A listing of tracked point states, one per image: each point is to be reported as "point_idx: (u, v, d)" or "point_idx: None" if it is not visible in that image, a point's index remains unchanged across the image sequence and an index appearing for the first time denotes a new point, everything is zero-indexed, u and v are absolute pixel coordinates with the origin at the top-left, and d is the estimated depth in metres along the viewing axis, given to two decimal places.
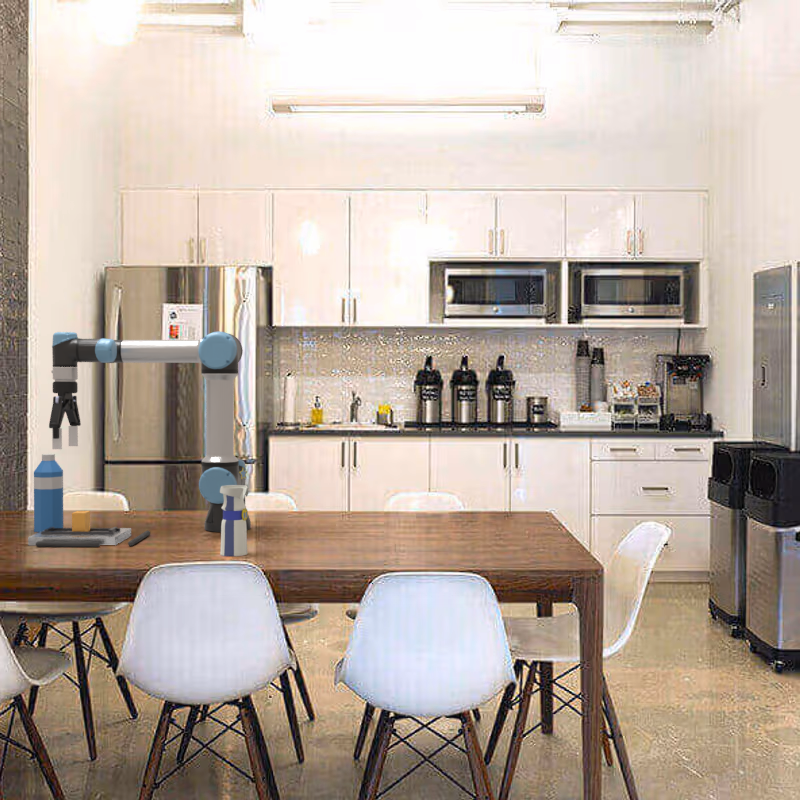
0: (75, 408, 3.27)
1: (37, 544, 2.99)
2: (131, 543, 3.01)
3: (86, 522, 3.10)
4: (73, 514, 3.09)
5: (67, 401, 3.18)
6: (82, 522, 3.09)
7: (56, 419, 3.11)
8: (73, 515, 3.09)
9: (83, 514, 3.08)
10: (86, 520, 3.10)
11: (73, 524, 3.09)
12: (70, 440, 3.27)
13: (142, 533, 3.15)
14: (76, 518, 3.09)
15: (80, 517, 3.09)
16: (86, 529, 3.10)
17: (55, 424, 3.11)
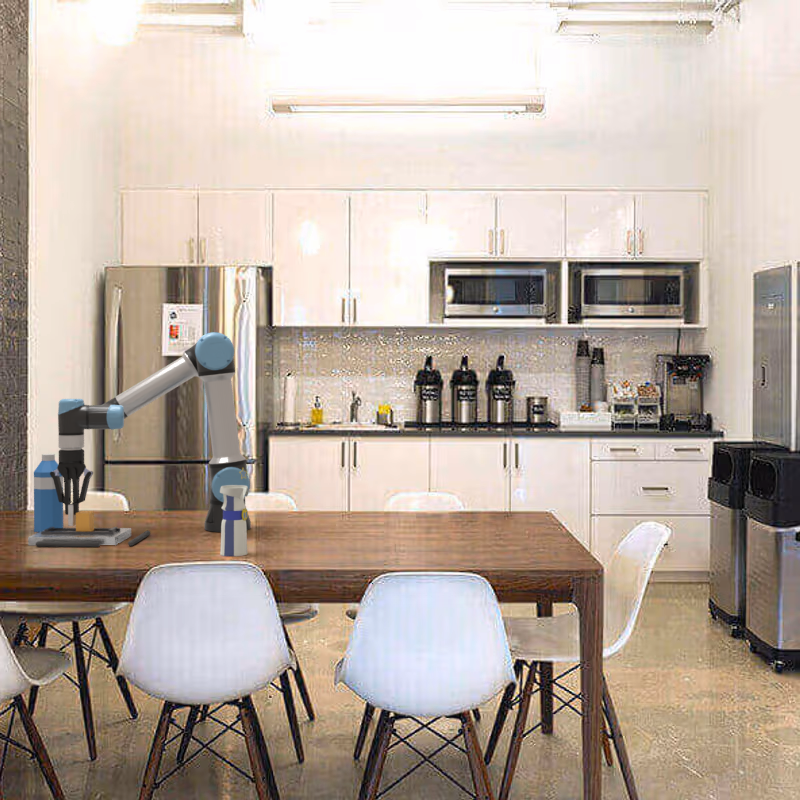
0: None
1: (37, 544, 2.99)
2: (131, 543, 3.01)
3: (90, 522, 3.10)
4: (77, 514, 3.09)
5: None
6: (85, 522, 3.09)
7: None
8: (77, 515, 3.09)
9: (87, 514, 3.08)
10: (90, 520, 3.10)
11: (77, 524, 3.09)
12: None
13: (142, 533, 3.15)
14: (80, 518, 3.09)
15: (84, 517, 3.09)
16: (90, 529, 3.10)
17: None
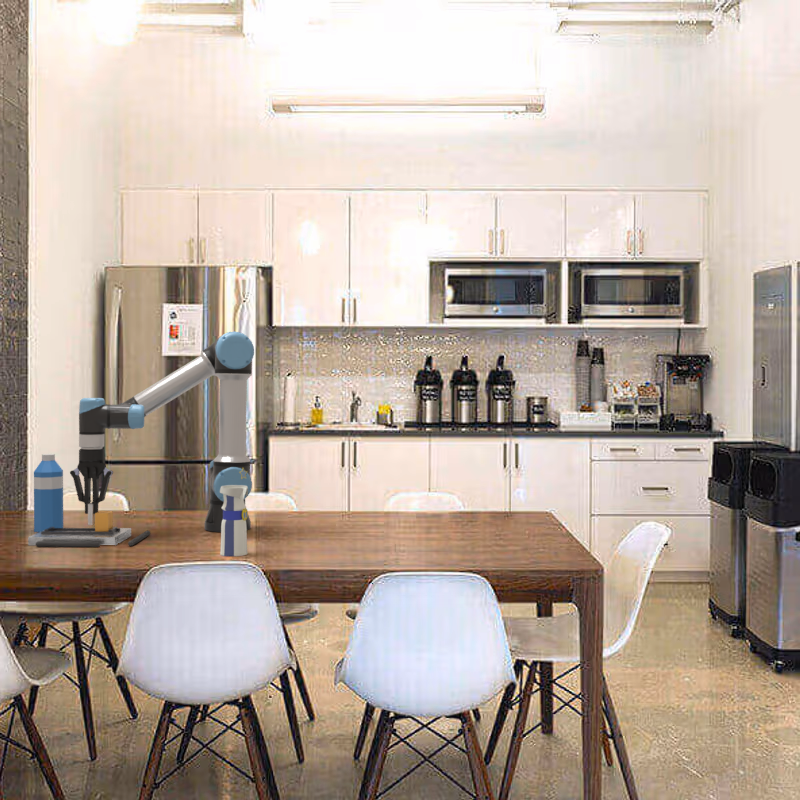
0: None
1: (37, 544, 2.99)
2: (131, 543, 3.01)
3: (109, 522, 3.10)
4: (96, 514, 3.09)
5: None
6: (105, 522, 3.09)
7: None
8: (96, 515, 3.09)
9: (106, 514, 3.08)
10: (109, 520, 3.10)
11: (96, 524, 3.09)
12: None
13: (142, 533, 3.15)
14: (99, 518, 3.09)
15: (103, 517, 3.09)
16: None
17: None
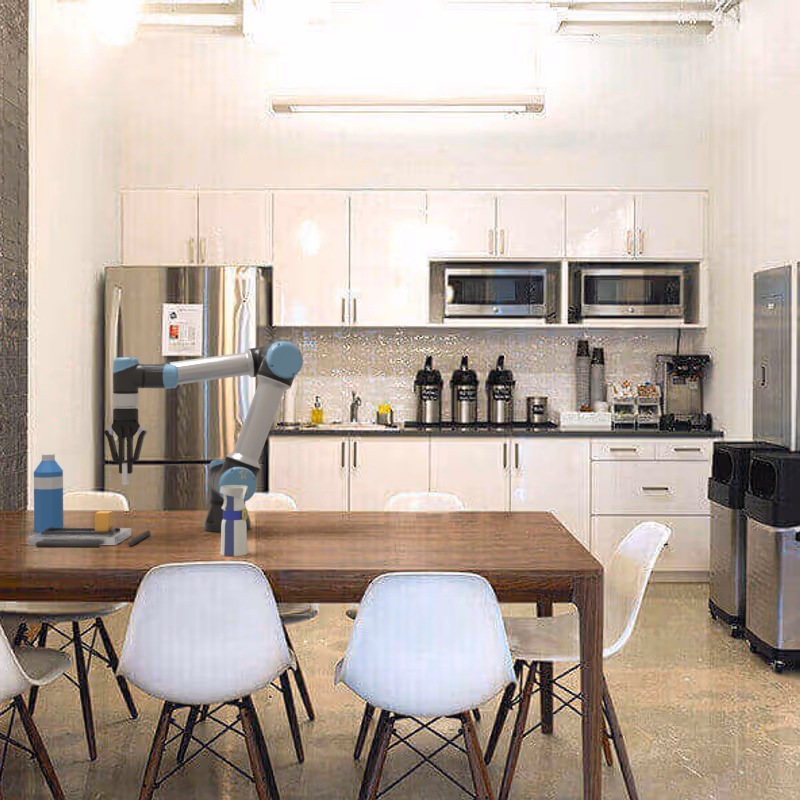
0: (137, 442, 3.10)
1: (37, 544, 2.99)
2: (131, 543, 3.01)
3: (109, 522, 3.10)
4: (96, 514, 3.09)
5: (118, 430, 3.09)
6: (105, 522, 3.09)
7: None
8: (96, 515, 3.09)
9: (106, 514, 3.08)
10: (109, 520, 3.10)
11: (96, 524, 3.09)
12: None
13: (142, 533, 3.15)
14: (99, 518, 3.09)
15: (103, 517, 3.09)
16: None
17: None
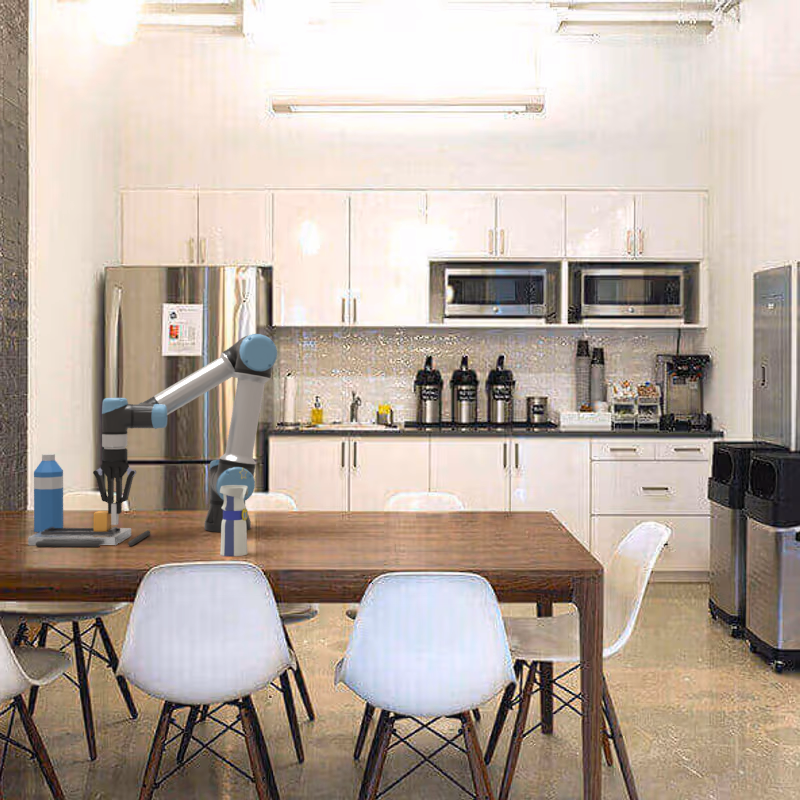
0: (126, 482, 3.10)
1: (37, 544, 2.99)
2: (131, 543, 3.01)
3: (107, 522, 3.10)
4: (95, 514, 3.09)
5: (107, 471, 3.09)
6: (103, 522, 3.09)
7: None
8: (95, 515, 3.09)
9: (105, 514, 3.08)
10: (107, 520, 3.10)
11: (95, 524, 3.09)
12: None
13: (142, 533, 3.15)
14: (98, 518, 3.09)
15: (102, 517, 3.09)
16: (107, 529, 3.10)
17: None
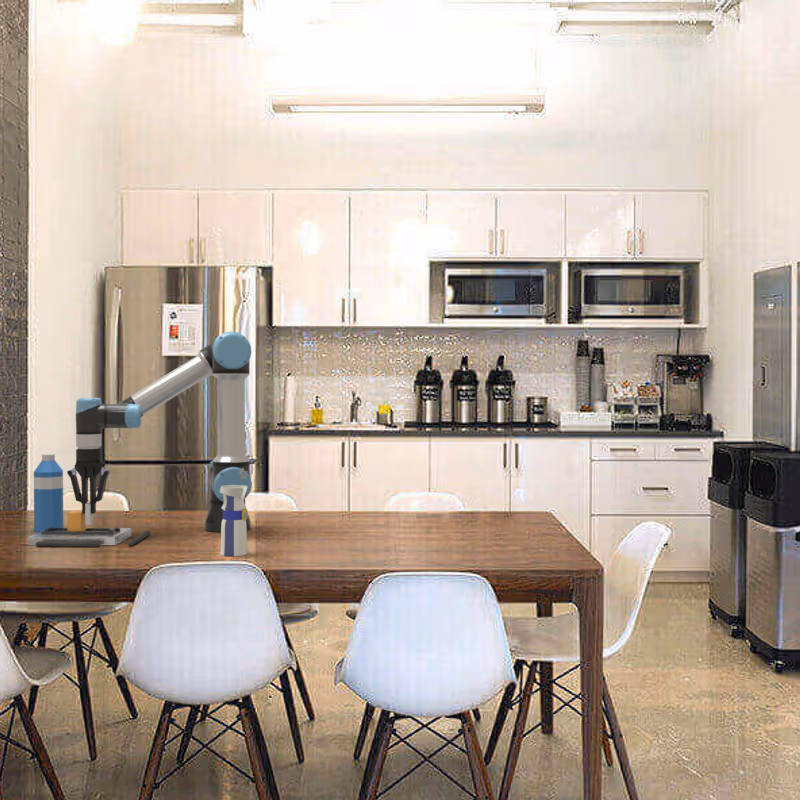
0: (100, 482, 3.10)
1: (37, 544, 2.99)
2: (131, 543, 3.01)
3: (81, 522, 3.10)
4: (68, 514, 3.09)
5: None
6: (77, 522, 3.09)
7: None
8: (68, 515, 3.09)
9: (78, 514, 3.08)
10: (82, 520, 3.10)
11: (68, 524, 3.09)
12: None
13: (142, 533, 3.15)
14: (71, 518, 3.09)
15: (76, 517, 3.09)
16: (82, 529, 3.10)
17: None
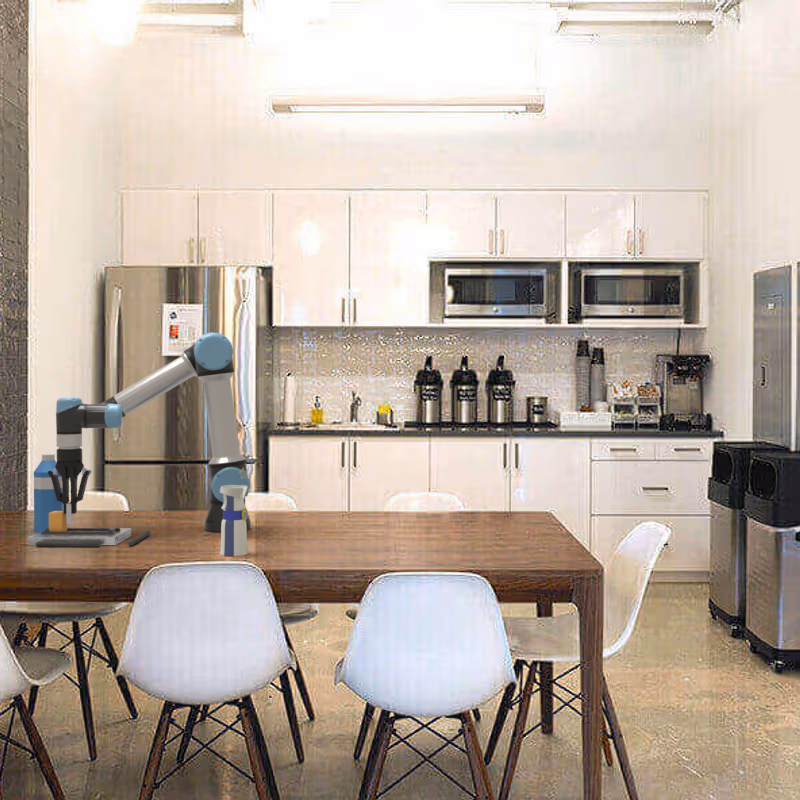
0: None
1: (37, 544, 2.99)
2: (131, 543, 3.01)
3: (63, 522, 3.10)
4: (50, 514, 3.09)
5: None
6: (58, 522, 3.09)
7: None
8: (50, 515, 3.09)
9: (60, 514, 3.09)
10: (63, 520, 3.10)
11: (50, 524, 3.09)
12: None
13: (142, 533, 3.15)
14: (53, 518, 3.09)
15: (57, 517, 3.09)
16: (63, 529, 3.10)
17: None
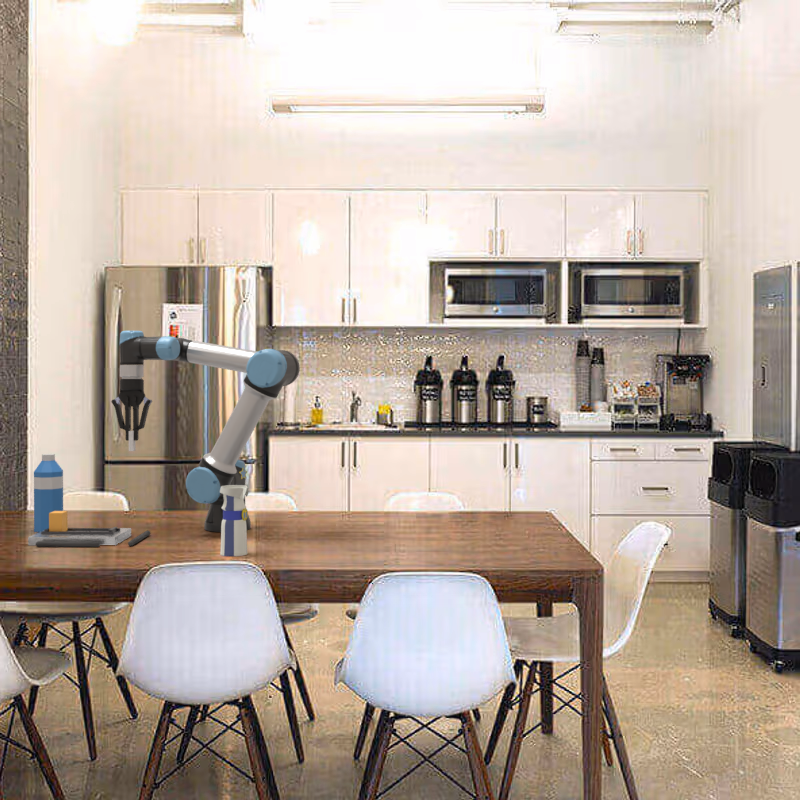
0: None
1: (37, 544, 2.99)
2: (131, 543, 3.01)
3: (63, 522, 3.10)
4: (50, 514, 3.09)
5: (124, 399, 3.27)
6: (59, 522, 3.09)
7: None
8: (50, 515, 3.09)
9: (60, 514, 3.09)
10: (63, 520, 3.10)
11: (50, 524, 3.09)
12: None
13: (142, 533, 3.15)
14: (53, 518, 3.09)
15: (57, 517, 3.09)
16: (63, 529, 3.10)
17: None
